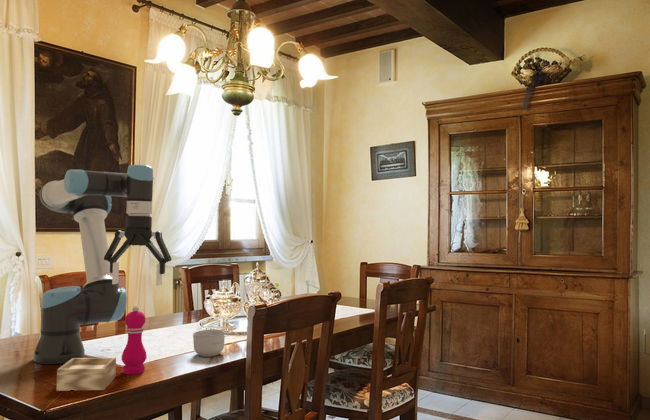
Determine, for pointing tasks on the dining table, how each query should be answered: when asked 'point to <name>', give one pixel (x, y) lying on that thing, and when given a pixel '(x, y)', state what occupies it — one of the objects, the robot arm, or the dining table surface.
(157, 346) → the dining table surface
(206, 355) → the teacup
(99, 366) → the oak box
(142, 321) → the pepper mill
